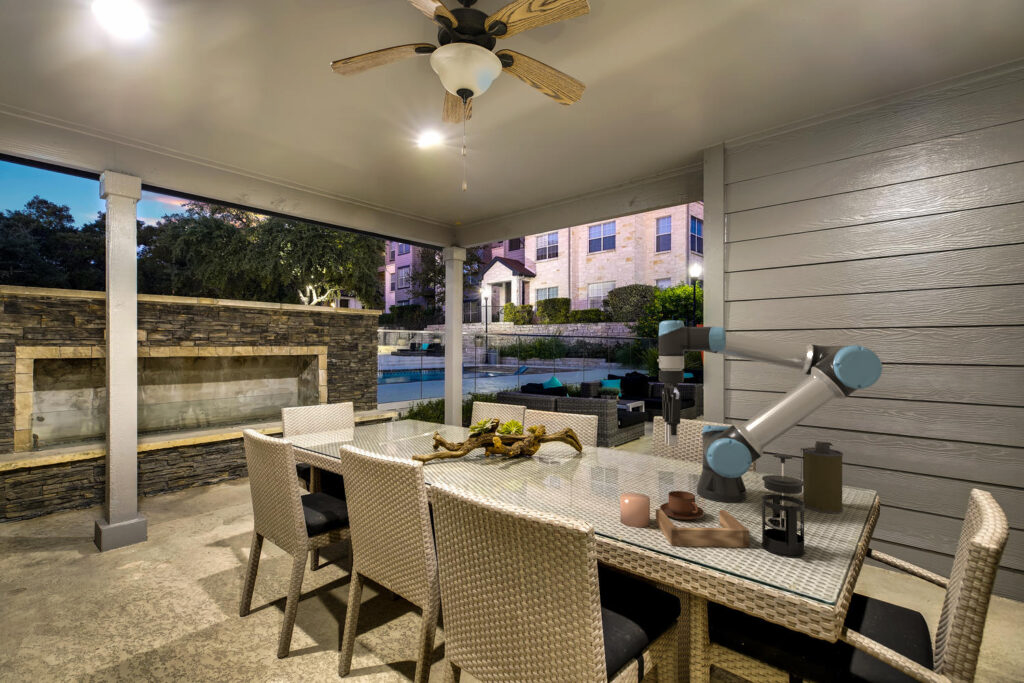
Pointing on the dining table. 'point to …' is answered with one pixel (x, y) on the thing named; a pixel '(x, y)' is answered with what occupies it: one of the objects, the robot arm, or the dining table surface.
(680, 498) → the cup and saucer
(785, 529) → the french press
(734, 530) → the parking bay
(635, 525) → the peach rounded capsule
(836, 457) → the canister
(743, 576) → the dining table surface
